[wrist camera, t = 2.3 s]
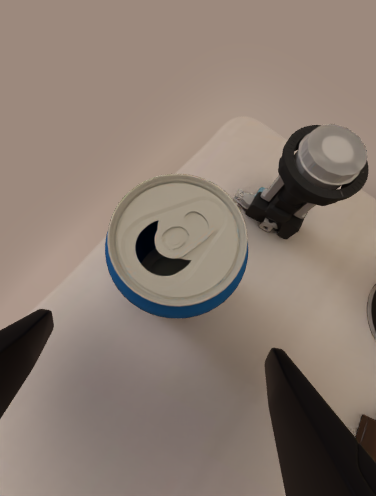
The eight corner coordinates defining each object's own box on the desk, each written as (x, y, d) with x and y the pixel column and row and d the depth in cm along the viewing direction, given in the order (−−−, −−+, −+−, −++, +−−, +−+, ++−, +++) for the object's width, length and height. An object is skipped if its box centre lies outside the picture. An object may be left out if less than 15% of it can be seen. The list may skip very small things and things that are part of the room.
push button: (221, 220, 23) (256, 149, 13) (244, 179, 24) (292, 89, 15) (282, 254, 22) (367, 206, 13) (303, 210, 24) (392, 137, 14)
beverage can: (123, 274, 21) (63, 220, 9) (181, 232, 22) (190, 140, 11) (168, 334, 20) (163, 358, 8) (226, 285, 21) (290, 247, 10)
